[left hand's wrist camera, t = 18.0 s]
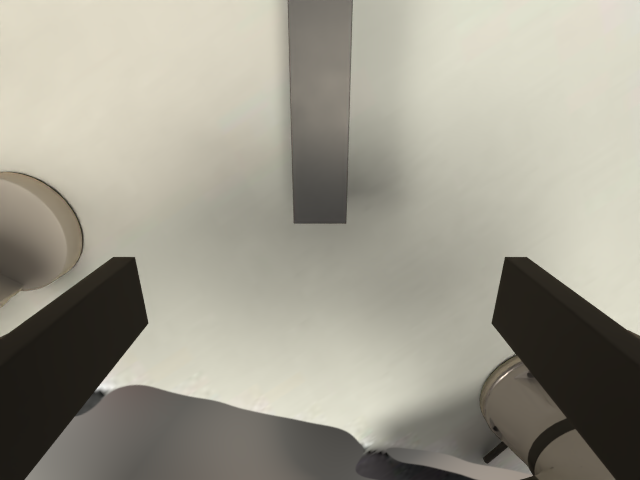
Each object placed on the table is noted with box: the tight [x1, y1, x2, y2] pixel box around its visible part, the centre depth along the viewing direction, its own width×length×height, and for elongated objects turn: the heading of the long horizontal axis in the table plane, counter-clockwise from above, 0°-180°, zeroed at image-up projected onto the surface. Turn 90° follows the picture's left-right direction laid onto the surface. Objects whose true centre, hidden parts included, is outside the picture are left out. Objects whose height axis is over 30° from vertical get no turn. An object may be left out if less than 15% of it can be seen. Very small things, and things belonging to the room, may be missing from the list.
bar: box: [288, 0, 353, 224], centre depth 29 cm, size 28×4×9 cm, turn 0°
